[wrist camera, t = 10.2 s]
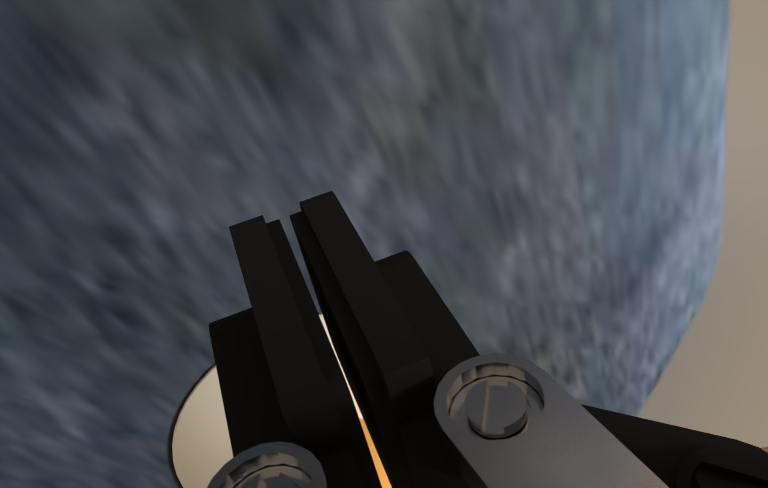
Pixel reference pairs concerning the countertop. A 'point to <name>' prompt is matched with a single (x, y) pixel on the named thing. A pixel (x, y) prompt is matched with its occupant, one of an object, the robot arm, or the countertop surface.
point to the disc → (207, 431)
